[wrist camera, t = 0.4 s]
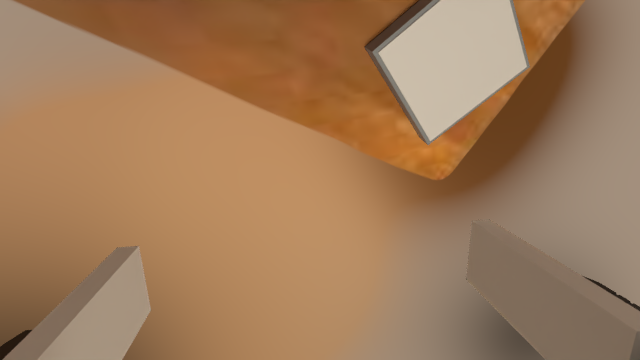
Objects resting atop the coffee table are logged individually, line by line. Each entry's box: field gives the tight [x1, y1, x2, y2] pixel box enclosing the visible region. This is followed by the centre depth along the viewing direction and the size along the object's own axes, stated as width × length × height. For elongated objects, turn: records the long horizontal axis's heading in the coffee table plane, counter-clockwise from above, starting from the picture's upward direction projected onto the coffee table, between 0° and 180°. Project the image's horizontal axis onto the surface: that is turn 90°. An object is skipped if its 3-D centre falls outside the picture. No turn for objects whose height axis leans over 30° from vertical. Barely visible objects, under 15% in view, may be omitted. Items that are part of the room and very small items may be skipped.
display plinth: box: [365, 0, 530, 145], centre depth 43 cm, size 17×17×2 cm
